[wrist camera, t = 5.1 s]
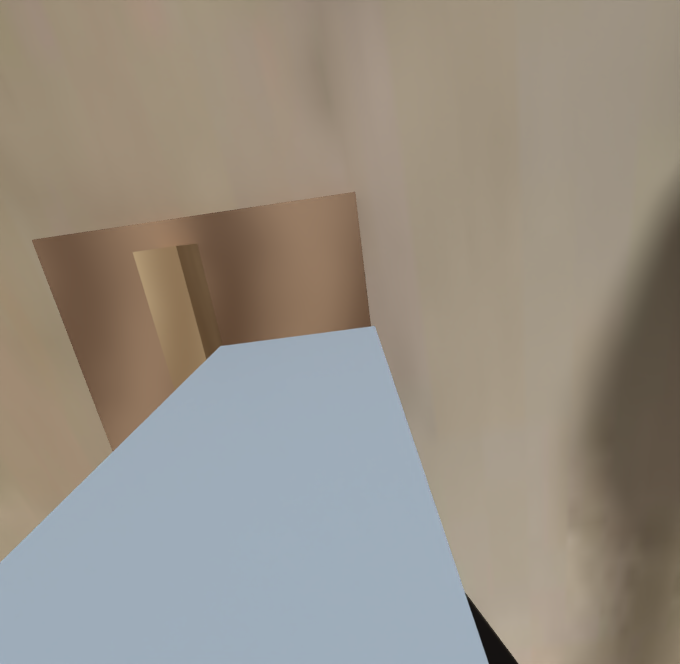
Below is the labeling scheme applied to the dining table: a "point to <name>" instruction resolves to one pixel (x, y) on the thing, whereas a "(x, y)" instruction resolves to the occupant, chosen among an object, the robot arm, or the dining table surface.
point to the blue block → (250, 528)
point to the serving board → (200, 294)
